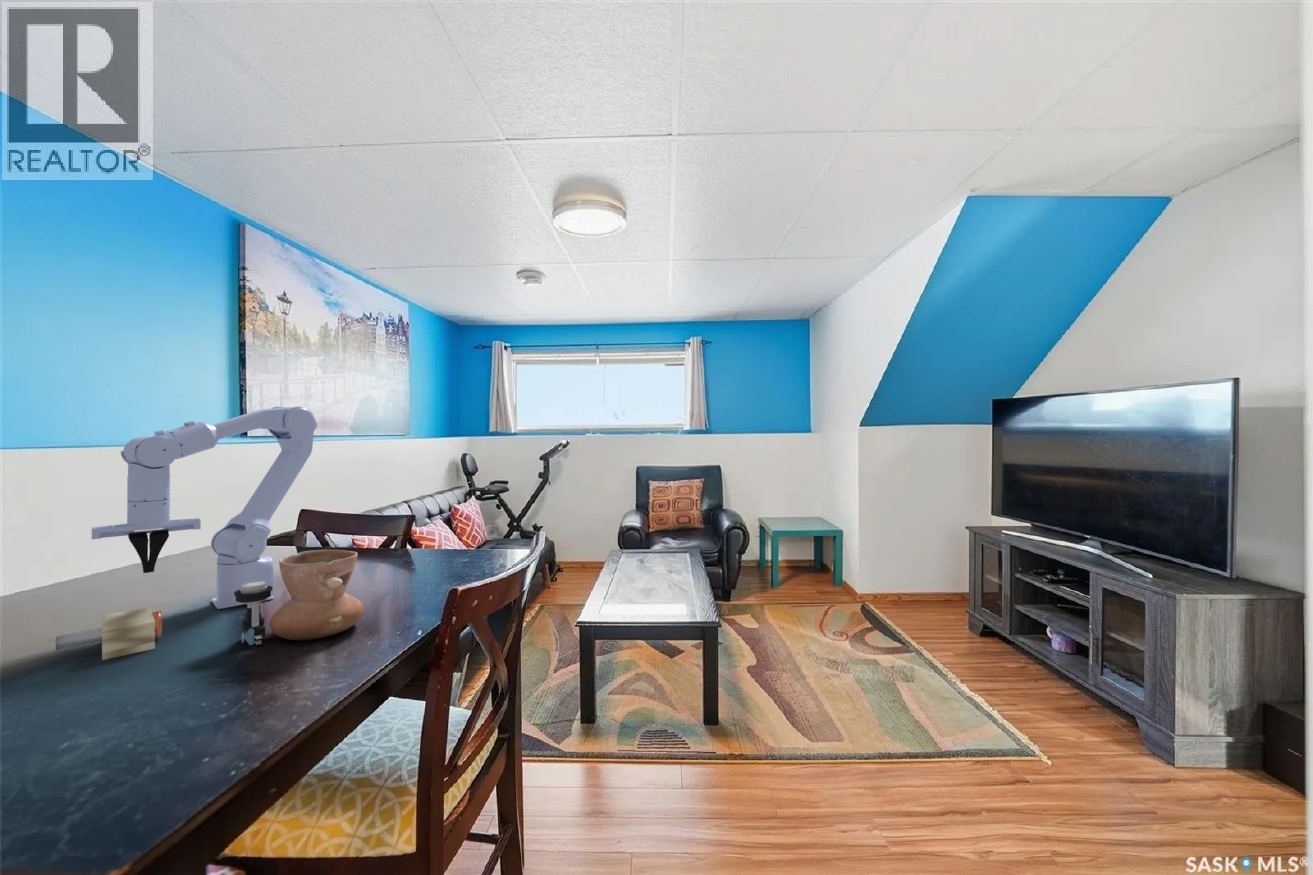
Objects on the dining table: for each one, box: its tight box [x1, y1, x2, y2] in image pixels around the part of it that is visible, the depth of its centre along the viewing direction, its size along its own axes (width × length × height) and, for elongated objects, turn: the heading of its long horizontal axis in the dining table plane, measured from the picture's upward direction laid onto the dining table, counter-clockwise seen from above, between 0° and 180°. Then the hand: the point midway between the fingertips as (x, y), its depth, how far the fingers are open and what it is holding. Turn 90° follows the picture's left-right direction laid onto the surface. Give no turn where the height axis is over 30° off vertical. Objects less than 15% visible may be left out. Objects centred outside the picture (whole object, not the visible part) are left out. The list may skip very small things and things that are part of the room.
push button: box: [234, 581, 274, 646], centre depth 89 cm, size 7×5×10 cm
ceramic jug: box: [269, 549, 365, 641], centre depth 95 cm, size 18×14×14 cm
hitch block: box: [101, 606, 156, 661], centre depth 87 cm, size 6×10×5 cm, turn 48°
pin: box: [55, 610, 163, 651], centre depth 86 cm, size 12×4×4 cm, turn 138°
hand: (148, 571), depth 97 cm, fingers closed
